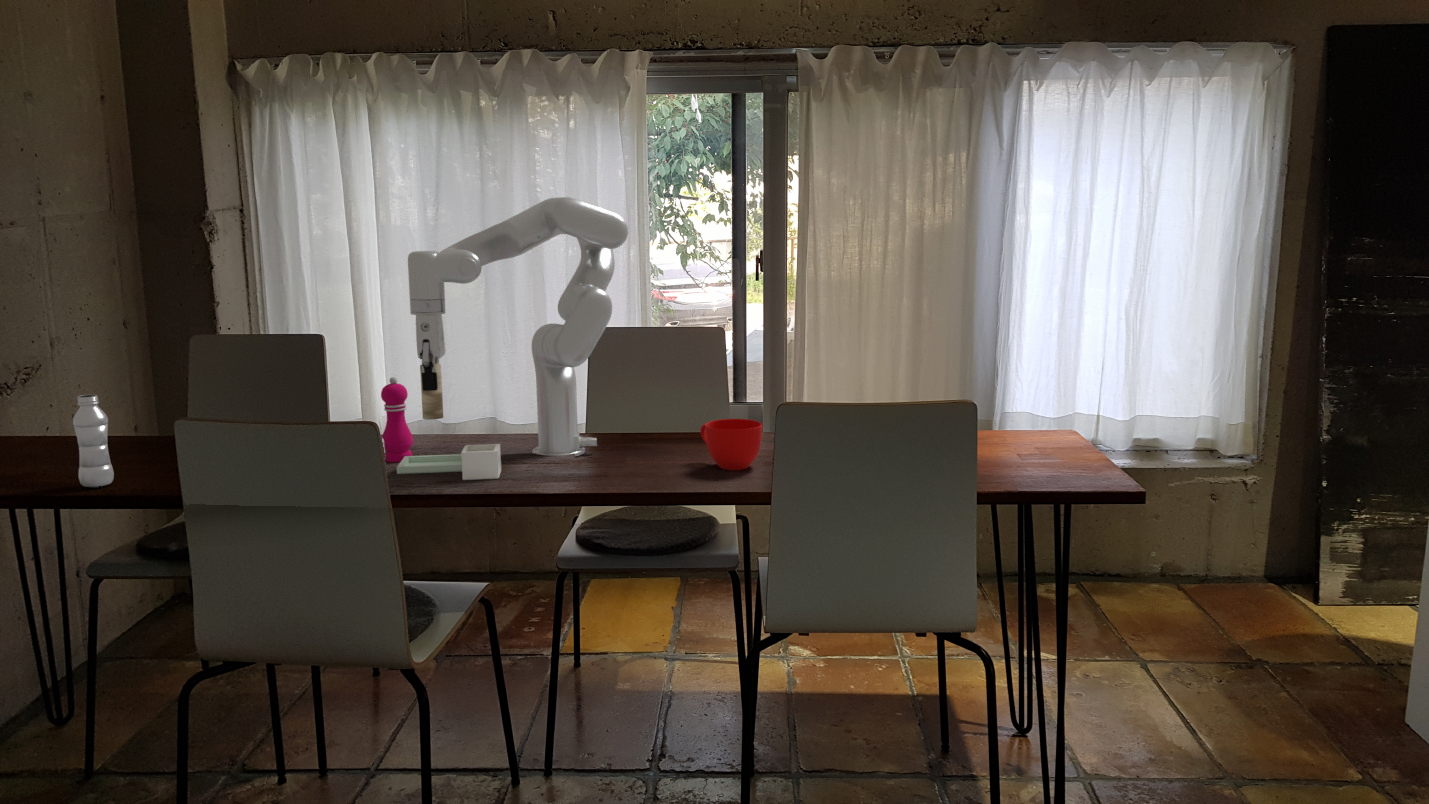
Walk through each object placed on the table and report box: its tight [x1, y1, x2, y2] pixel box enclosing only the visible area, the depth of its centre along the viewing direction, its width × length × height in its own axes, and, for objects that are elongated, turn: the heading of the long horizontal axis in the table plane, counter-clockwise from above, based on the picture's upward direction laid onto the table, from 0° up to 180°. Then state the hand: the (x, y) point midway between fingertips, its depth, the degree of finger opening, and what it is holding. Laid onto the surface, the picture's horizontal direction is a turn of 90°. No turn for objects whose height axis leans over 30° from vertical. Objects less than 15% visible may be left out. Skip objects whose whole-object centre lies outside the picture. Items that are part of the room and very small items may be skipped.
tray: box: [396, 453, 462, 475], centre depth 238 cm, size 16×11×2 cm
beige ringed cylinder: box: [419, 363, 444, 420], centre depth 235 cm, size 4×4×12 cm
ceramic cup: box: [700, 418, 763, 471], centre depth 240 cm, size 13×17×10 cm
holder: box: [460, 443, 502, 481], centre depth 230 cm, size 8×8×7 cm
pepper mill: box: [380, 376, 414, 463], centre depth 249 cm, size 7×7×20 cm
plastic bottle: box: [72, 394, 115, 488], centre depth 226 cm, size 6×7×20 cm
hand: (431, 387), depth 235 cm, fingers closed on beige ringed cylinder, 4 cm apart
